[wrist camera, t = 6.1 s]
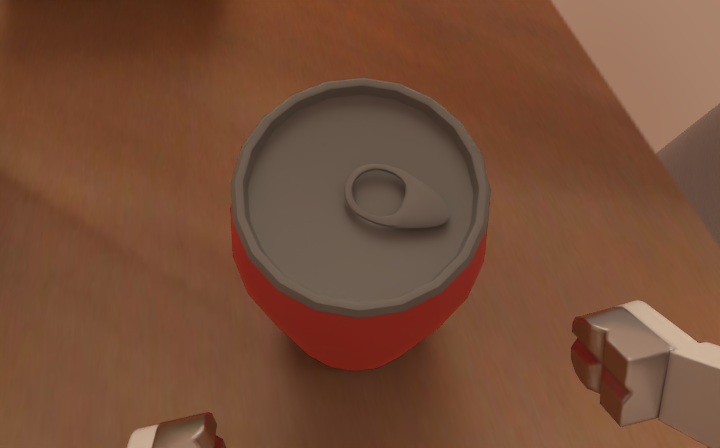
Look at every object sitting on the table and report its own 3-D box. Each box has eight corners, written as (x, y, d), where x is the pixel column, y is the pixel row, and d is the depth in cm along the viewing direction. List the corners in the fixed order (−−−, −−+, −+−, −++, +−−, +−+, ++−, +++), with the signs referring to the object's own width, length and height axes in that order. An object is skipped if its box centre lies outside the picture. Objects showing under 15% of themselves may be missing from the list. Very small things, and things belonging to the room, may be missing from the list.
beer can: (403, 394, 20) (473, 394, 9) (258, 341, 20) (147, 277, 9) (444, 252, 22) (544, 104, 11) (313, 209, 23) (276, 25, 11)
